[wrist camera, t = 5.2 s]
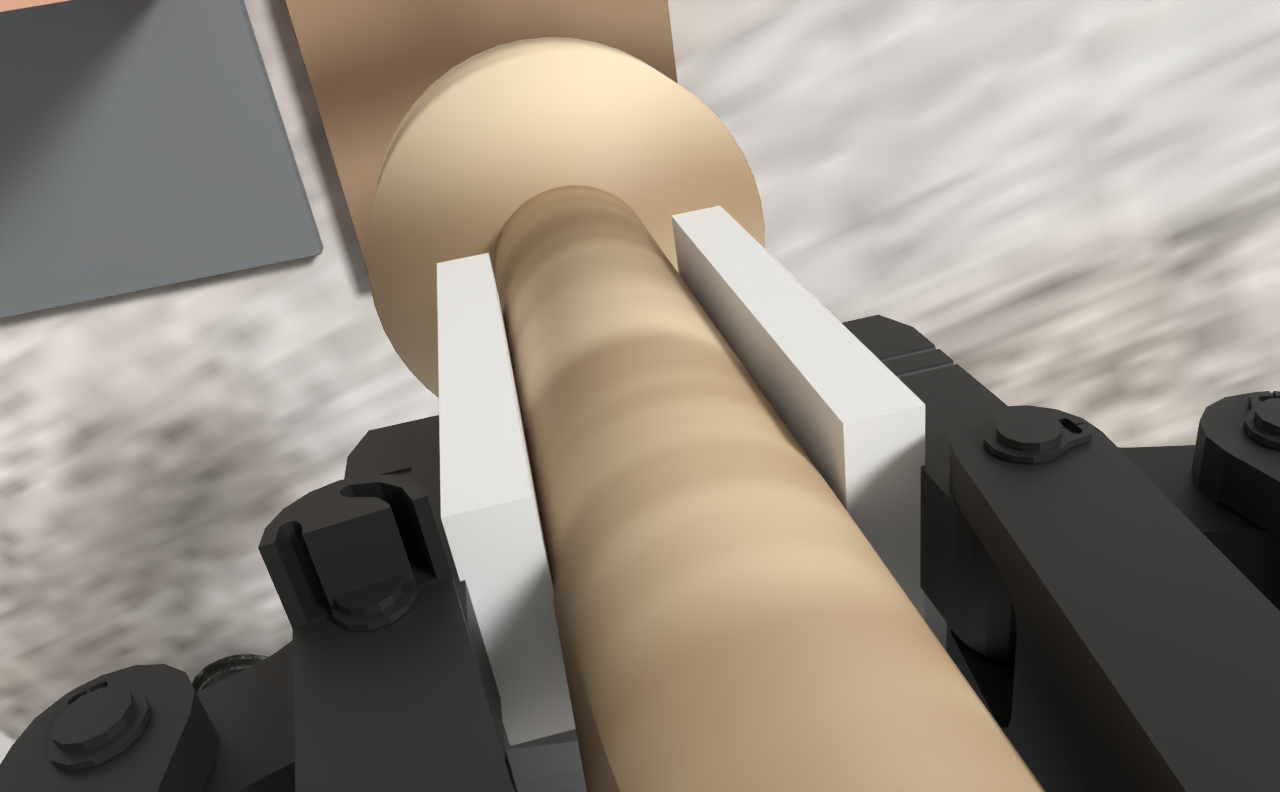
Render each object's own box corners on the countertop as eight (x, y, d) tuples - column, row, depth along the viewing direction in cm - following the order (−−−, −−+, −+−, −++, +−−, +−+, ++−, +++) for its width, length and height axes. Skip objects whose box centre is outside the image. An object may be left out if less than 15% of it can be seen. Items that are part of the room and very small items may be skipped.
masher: (741, 344, 20) (1347, 1163, 7) (427, 413, 20) (415, 1486, 6) (706, 5, 17) (1746, 308, 4) (326, 74, 16) (-171, 786, 3)
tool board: (687, 211, 38) (693, 218, 37) (372, 275, 37) (371, 284, 36) (643, -150, 32) (649, -152, 31) (263, -89, 31) (258, -90, 30)
